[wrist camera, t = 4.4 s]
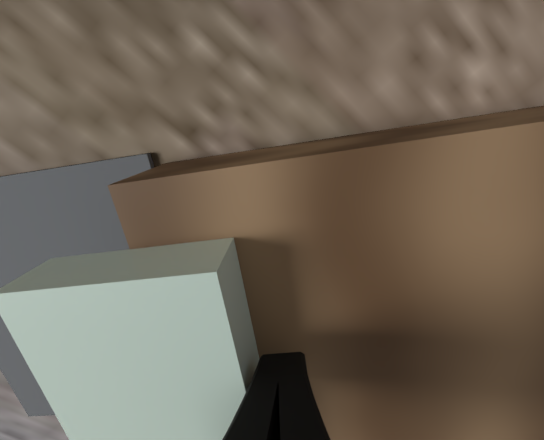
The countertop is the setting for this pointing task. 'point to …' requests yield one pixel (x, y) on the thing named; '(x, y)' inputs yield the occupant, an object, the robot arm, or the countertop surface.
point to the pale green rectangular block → (137, 340)
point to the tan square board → (383, 267)
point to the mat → (55, 238)
